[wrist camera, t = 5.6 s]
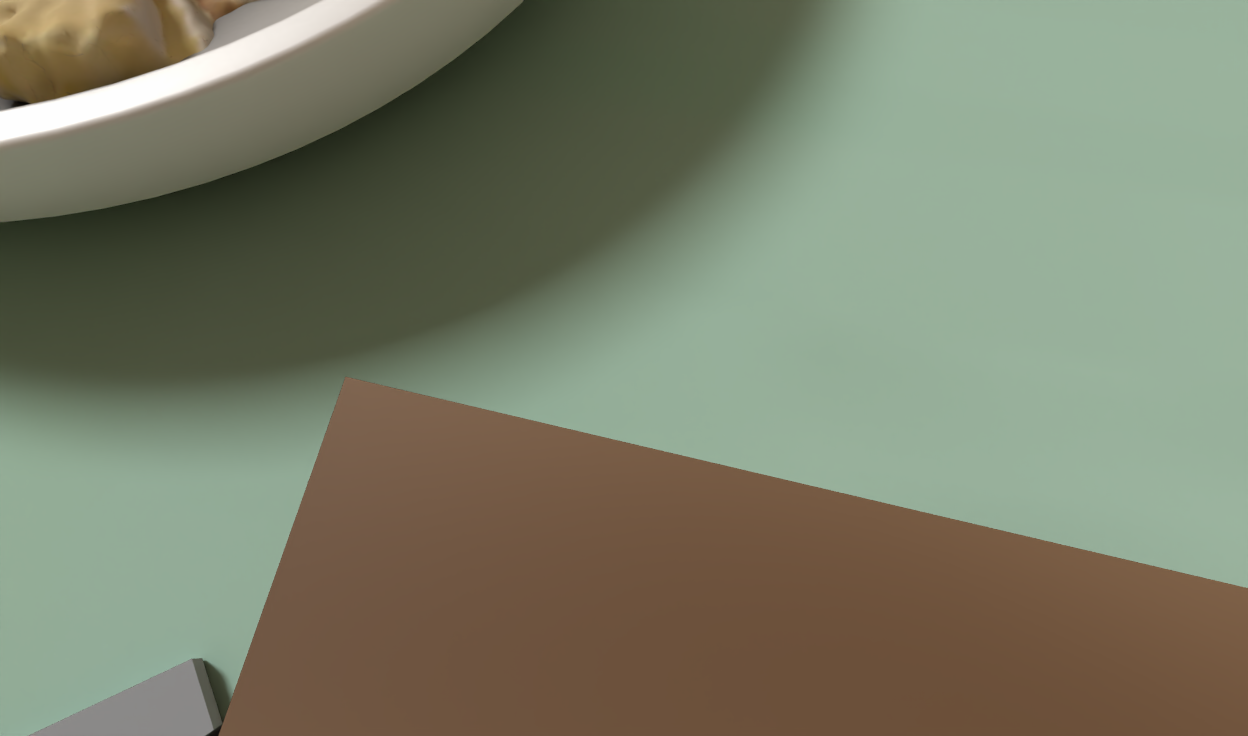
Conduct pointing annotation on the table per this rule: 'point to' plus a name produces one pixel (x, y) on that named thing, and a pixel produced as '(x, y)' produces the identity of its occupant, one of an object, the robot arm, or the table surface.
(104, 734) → the rest mat
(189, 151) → the bowl
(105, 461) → the table surface
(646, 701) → the walnut block
